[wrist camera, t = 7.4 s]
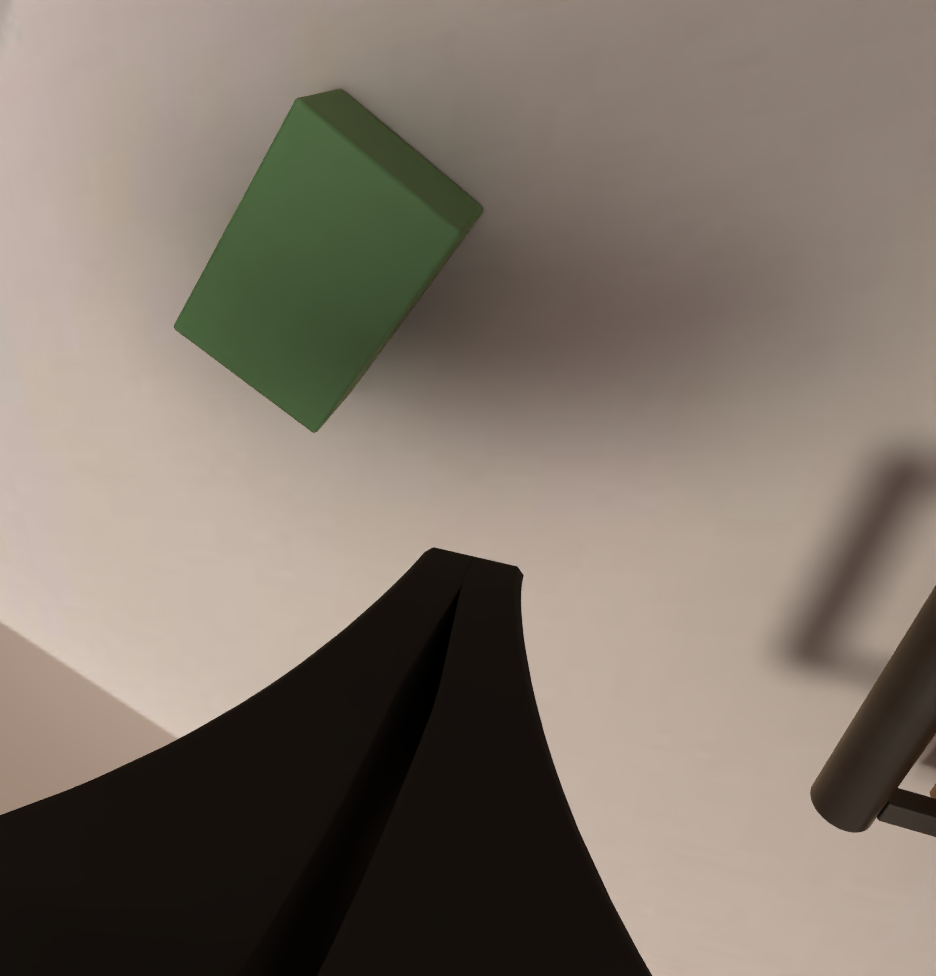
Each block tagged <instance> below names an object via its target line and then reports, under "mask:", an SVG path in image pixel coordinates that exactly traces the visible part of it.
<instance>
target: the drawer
mask: <svg viewBox="0 0 936 976" xmlns="http://www.w3.org/2000/svg"><path fill="white" fill-rule="evenodd" d="M935 734H936V586H935V587H934V589H933V591H932V592H931V594H930V595H929V597H928V599H927V600H926V602H925V604H924V605H923V607H922V608H921V610H920V612H919V613H918V615H917V617H916V618H915V620H914V621H913V623H912V625H911V626H910V628H909V630H908V631H907V633H906V634H905V636H904V638H903V639H902V641H901V642H900V644H899V646H898V647H897V649H896V651H895V652H894V654H893V655H892V657H891V659H890V660H889V662H888V664H887V665H886V667H885V668H884V670H883V672H882V673H881V675H880V676H879V678H878V680H877V681H876V683H875V685H874V686H873V688H872V689H871V691H870V693H869V694H868V696H867V698H866V699H865V701H864V702H863V704H862V706H861V707H860V709H859V710H858V712H857V714H856V715H855V717H854V719H853V720H852V722H851V723H850V725H849V727H848V728H847V730H846V732H845V733H844V735H843V736H842V738H841V740H840V741H839V743H838V744H837V746H836V748H835V749H834V751H833V753H832V754H831V756H830V757H829V759H828V761H827V762H826V764H825V766H824V767H823V769H822V770H821V772H820V774H819V775H818V777H817V778H816V780H815V782H814V783H813V785H812V787H811V792H810V794H811V800H812V803H813V805H814V807H815V809H816V810H817V811H818V813H819V814H820V815H821V816H822V817H823V818H824V819H825V820H826V821H828V822H829V823H830V824H832V825H833V826H835V827H837V828H839V829H841V830H844V831H848V832H862V831H865V830H867V829H868V828H869V827H870V826H871V824H872V823H873V822H874V820H875V819H876V817H877V819H878V820H879V821H882V822H886V823H889V824H893V825H896V826H900V827H903V828H907V829H910V830H913V831H917V832H920V833H924V834H927V835H931V836H934V837H936V784H935V786H934V787H933V788H932V790H931V791H930V796H931V797H928V796H924V795H920V794H917V793H913V792H910V791H906V790H903V789H899V788H898V786H899V785H900V783H901V782H902V780H903V779H904V778H905V776H906V775H907V773H908V772H909V771H910V769H911V768H912V766H913V765H914V763H915V762H916V761H917V759H918V758H919V756H920V755H921V754H922V752H923V751H924V749H925V748H926V746H927V745H928V744H929V742H930V741H931V739H932V738H933V737H934V735H935Z"/></svg>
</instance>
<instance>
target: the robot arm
mask: <svg viewBox="0 0 936 976" xmlns="http://www.w3.org/2000/svg"><path fill="white" fill-rule="evenodd" d="M522 580H523V574H522V572H521V571H520V570H519V568H518V567H517V566H512V565H508V564H504V563H499V562H495V561H491V560H486V559H482V558H478V557H473V556H469V555H464V554H460V553H456V552H451V551H447V550H443V549H438V548H434V547H433V548H431V549H429V550H428V551H426V552H424V554H423V555H422V556H421V557H420V558H419V559H418V560H417V561H416V562H415V564H414V565H413V566H412V567H411V568H410V569H409V570H408V571H407V572H406V573H405V574H404V575H403V576H402V577H401V578H400V579H399V580H398V581H397V582H396V583H395V584H394V585H393V586H392V587H391V588H390V589H389V590H388V591H387V592H386V593H385V594H384V595H383V596H381V597H380V598H379V599H378V600H377V601H376V602H375V603H374V604H373V605H371V606H370V607H369V608H368V609H367V610H366V611H365V612H364V613H362V614H361V615H360V616H359V617H358V618H357V619H356V620H355V621H353V622H352V623H351V624H350V625H349V626H348V627H346V628H345V629H344V630H343V631H342V632H340V633H339V634H338V635H337V636H335V637H334V638H333V639H332V640H330V641H329V642H328V643H326V644H325V645H324V646H323V647H321V648H320V649H319V650H317V651H316V652H315V653H314V654H312V655H311V656H310V657H308V658H307V659H306V660H305V661H303V662H302V663H301V664H299V665H298V666H296V667H295V668H294V669H292V670H291V671H289V672H288V673H287V674H285V675H284V676H282V677H281V678H279V679H278V680H276V681H275V682H274V683H272V684H271V685H269V686H268V687H266V688H264V689H263V690H261V691H260V692H258V693H257V694H255V695H254V696H252V697H250V698H249V699H247V700H246V701H244V702H243V703H241V704H239V705H238V706H236V707H234V708H233V709H231V710H229V711H227V712H226V713H224V714H222V715H220V716H219V717H217V718H215V719H213V720H212V721H210V722H208V723H207V724H205V725H203V726H201V727H200V728H198V729H196V730H194V731H192V732H191V733H189V734H187V735H185V736H183V737H181V738H179V739H177V740H176V741H174V742H172V743H170V744H168V745H166V746H164V747H162V748H160V749H158V750H156V751H153V752H151V753H149V754H147V755H145V756H143V757H141V758H138V759H136V760H134V761H132V762H130V763H128V764H126V765H123V766H121V767H119V768H117V769H115V770H113V771H111V772H109V773H106V774H104V775H102V776H100V777H98V778H95V779H93V780H91V781H88V782H86V783H84V784H81V785H79V786H76V787H74V788H72V789H69V790H67V791H64V792H61V793H59V794H56V795H53V796H51V797H48V798H45V799H43V800H40V801H37V802H35V803H32V804H29V805H26V806H24V807H21V808H18V809H16V810H13V811H10V812H8V813H5V814H2V815H0V976H652V975H651V973H650V971H649V969H648V968H647V966H646V964H645V962H644V961H643V959H642V957H641V955H640V954H639V952H638V950H637V948H636V946H635V945H634V943H633V941H632V939H631V937H630V935H629V933H628V931H627V929H626V928H625V926H624V924H623V922H622V920H621V918H620V916H619V914H618V912H617V911H616V909H615V907H614V905H613V903H612V901H611V899H610V897H609V895H608V893H607V890H606V888H605V886H604V884H603V882H602V880H601V877H600V875H599V873H598V871H597V869H596V867H595V865H594V862H593V860H592V858H591V856H590V854H589V852H588V849H587V847H586V845H585V843H584V841H583V839H582V836H581V834H580V832H579V830H578V827H577V825H576V822H575V820H574V817H573V815H572V812H571V810H570V807H569V804H568V802H567V799H566V797H565V794H564V792H563V789H562V786H561V783H560V780H559V778H558V775H557V772H556V769H555V766H554V763H553V760H552V757H551V754H550V751H549V748H548V744H547V741H546V738H545V734H544V731H543V727H542V723H541V720H540V716H539V712H538V708H537V704H536V700H535V696H534V691H533V687H532V683H531V677H530V672H529V666H528V661H527V655H526V650H525V643H524V636H523V626H522V615H521V587H522Z"/></svg>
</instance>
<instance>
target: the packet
mask: <svg viewBox="0 0 936 976" xmlns="http://www.w3.org/2000/svg"><path fill="white" fill-rule="evenodd" d="M482 212H483V207H482V206H481V205H480V204H479V203H477V202H476V201H475V200H474V199H473V198H471V197H470V196H469V195H468V194H467V193H465V192H464V191H463V190H462V189H461V188H459V187H458V186H457V185H456V184H455V183H453V182H452V181H451V180H450V179H449V178H447V177H446V176H445V175H444V174H443V173H442V172H440V171H439V170H438V169H437V168H436V167H434V166H433V165H432V164H431V163H430V162H428V161H427V160H426V159H425V158H424V157H422V156H421V155H420V154H419V153H418V152H416V151H415V150H414V149H413V148H412V147H410V146H409V145H408V144H407V143H406V142H404V141H403V140H402V139H401V138H400V137H398V136H397V135H396V134H395V133H394V132H392V131H391V130H390V129H389V128H388V127H386V126H385V125H384V124H383V123H382V122H380V121H379V120H378V119H377V118H376V117H374V116H373V115H372V114H371V113H370V112H368V111H367V110H366V109H365V108H364V107H362V106H361V105H360V104H359V103H358V102H357V101H355V100H354V99H353V98H352V97H351V96H349V95H348V94H347V93H346V92H345V91H343V90H341V89H339V90H334V91H329V92H324V93H319V94H315V95H310V96H305V97H300V98H297V99H296V100H295V102H294V103H293V105H292V107H291V109H290V111H289V113H288V115H287V116H286V118H285V120H284V122H283V124H282V126H281V128H280V129H279V131H278V133H277V135H276V137H275V139H274V141H273V142H272V144H271V146H270V148H269V150H268V152H267V154H266V155H265V157H264V159H263V161H262V163H261V165H260V167H259V168H258V170H257V172H256V174H255V176H254V178H253V180H252V181H251V183H250V185H249V187H248V189H247V191H246V193H245V194H244V196H243V198H242V200H241V202H240V204H239V206H238V207H237V209H236V211H235V213H234V215H233V217H232V219H231V220H230V222H229V224H228V226H227V228H226V230H225V232H224V233H223V235H222V237H221V239H220V241H219V243H218V245H217V246H216V248H215V250H214V252H213V254H212V256H211V258H210V259H209V261H208V263H207V265H206V267H205V269H204V271H203V272H202V274H201V276H200V278H199V280H198V282H197V284H196V285H195V287H194V289H193V291H192V293H191V295H190V297H189V298H188V300H187V302H186V304H185V306H184V308H183V310H182V311H181V313H180V315H179V317H178V319H177V321H176V323H175V324H174V328H175V330H177V331H178V332H179V333H181V334H182V335H183V336H185V337H186V338H187V339H189V340H190V341H191V342H193V343H194V344H195V345H197V346H198V347H199V348H201V349H202V350H203V351H205V352H206V353H207V354H209V355H210V356H211V357H213V358H214V359H215V360H217V361H218V362H219V363H221V364H222V365H223V366H225V367H226V368H227V369H229V370H230V371H231V372H233V373H234V374H235V375H237V376H238V377H239V378H241V379H242V380H243V381H245V382H246V383H247V384H249V385H250V386H251V387H253V388H254V389H255V390H257V391H258V392H259V393H261V394H262V395H263V396H265V397H266V398H267V399H269V400H270V401H271V402H273V403H274V404H275V405H277V406H278V407H279V408H281V409H282V410H283V411H285V412H286V413H287V414H289V415H290V416H291V417H293V418H294V419H295V420H297V421H298V422H299V423H301V424H302V425H303V426H305V427H306V428H307V429H309V430H310V431H311V432H313V433H315V432H317V431H318V430H319V429H320V428H321V426H322V425H323V424H324V423H325V422H326V421H327V419H328V418H329V417H330V416H331V415H332V414H333V412H334V411H335V410H336V409H337V408H338V407H339V405H340V404H341V403H342V402H343V401H344V399H345V398H346V397H347V396H348V395H349V394H350V392H351V391H352V390H353V388H354V387H355V386H356V384H357V383H358V381H359V380H360V379H361V377H362V376H363V375H364V373H365V372H366V371H367V369H368V368H369V366H370V365H371V364H372V362H373V361H374V360H375V358H376V357H377V356H378V354H379V353H380V351H381V350H382V349H383V347H384V346H385V345H386V343H387V342H388V341H389V339H390V338H391V336H392V335H393V334H394V332H395V331H396V330H397V328H398V327H399V326H400V324H401V323H402V321H403V320H404V319H405V317H406V316H407V315H408V313H409V312H410V311H411V309H412V308H413V306H414V305H415V304H416V302H417V301H418V300H419V298H420V297H421V296H422V294H423V293H424V291H425V290H426V289H427V287H428V286H429V285H430V283H431V282H432V281H433V279H434V278H435V277H436V275H437V274H438V272H439V271H440V270H441V268H442V267H443V266H444V264H445V263H446V262H447V260H448V259H449V257H450V256H451V255H452V253H453V252H454V251H455V249H456V248H457V247H458V245H459V244H460V242H461V241H462V240H463V238H464V237H465V236H466V234H467V233H468V232H469V230H470V229H471V227H472V226H473V225H474V223H475V222H476V221H477V219H478V218H479V217H480V215H481V214H482Z"/></svg>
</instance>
